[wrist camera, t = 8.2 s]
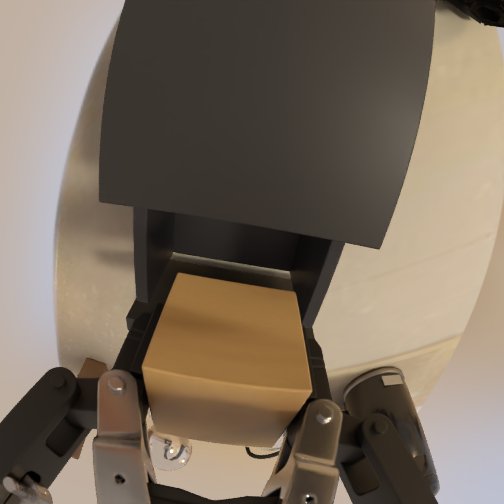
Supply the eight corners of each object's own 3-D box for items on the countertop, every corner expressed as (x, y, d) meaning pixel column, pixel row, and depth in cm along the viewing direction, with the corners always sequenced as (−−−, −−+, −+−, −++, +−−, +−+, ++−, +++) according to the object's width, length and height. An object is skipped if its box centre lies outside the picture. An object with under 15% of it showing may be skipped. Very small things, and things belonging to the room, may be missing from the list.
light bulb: (193, 388, 34) (180, 465, 24) (203, 411, 38) (194, 479, 27) (147, 384, 34) (127, 456, 24) (161, 408, 38) (147, 472, 27)
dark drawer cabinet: (332, 192, 21) (380, 250, 13) (160, 162, 20) (98, 202, 12) (370, 15, 14) (435, -25, 5) (195, -18, 13) (159, -81, 4)
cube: (269, 363, 13) (272, 448, 9) (175, 349, 12) (154, 432, 8) (296, 291, 10) (313, 391, 7) (177, 271, 10) (140, 367, 6)
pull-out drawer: (285, 326, 27) (293, 392, 20) (159, 306, 26) (134, 368, 19) (345, 126, 18) (395, 138, 11) (172, 95, 17) (125, 89, 10)
